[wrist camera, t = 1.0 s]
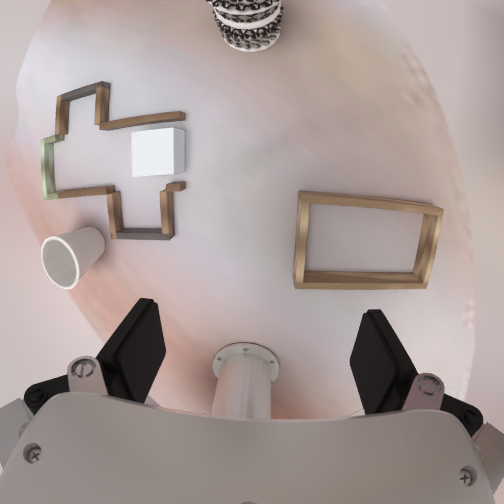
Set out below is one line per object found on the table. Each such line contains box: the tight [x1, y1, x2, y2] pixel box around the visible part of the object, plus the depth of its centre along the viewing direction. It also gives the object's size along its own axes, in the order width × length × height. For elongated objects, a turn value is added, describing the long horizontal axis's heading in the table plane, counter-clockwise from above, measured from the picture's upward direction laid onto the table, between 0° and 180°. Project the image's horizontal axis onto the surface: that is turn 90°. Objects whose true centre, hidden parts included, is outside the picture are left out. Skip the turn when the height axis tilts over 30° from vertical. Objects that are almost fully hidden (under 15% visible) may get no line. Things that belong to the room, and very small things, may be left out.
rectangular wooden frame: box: [293, 191, 444, 290], centre depth 37 cm, size 13×22×4 cm, turn 89°
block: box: [132, 128, 185, 177], centre depth 33 cm, size 6×6×5 cm
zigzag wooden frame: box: [41, 81, 185, 240], centre depth 35 cm, size 25×27×2 cm
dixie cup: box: [41, 227, 105, 289], centre depth 36 cm, size 8×8×10 cm
